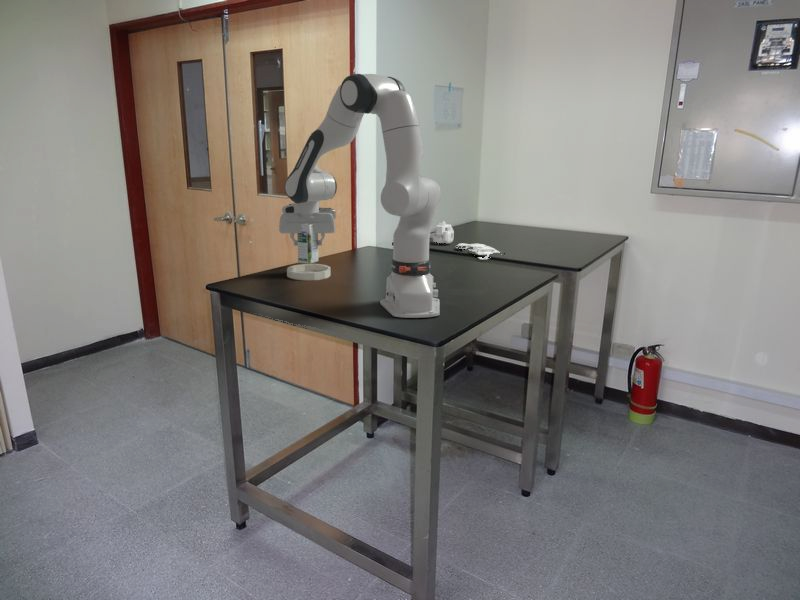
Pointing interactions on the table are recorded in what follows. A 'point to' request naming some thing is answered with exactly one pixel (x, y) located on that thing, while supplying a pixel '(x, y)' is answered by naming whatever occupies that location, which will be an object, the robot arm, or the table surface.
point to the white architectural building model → (479, 249)
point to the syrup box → (307, 244)
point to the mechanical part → (443, 233)
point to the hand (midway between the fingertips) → (307, 245)
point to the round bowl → (309, 272)
